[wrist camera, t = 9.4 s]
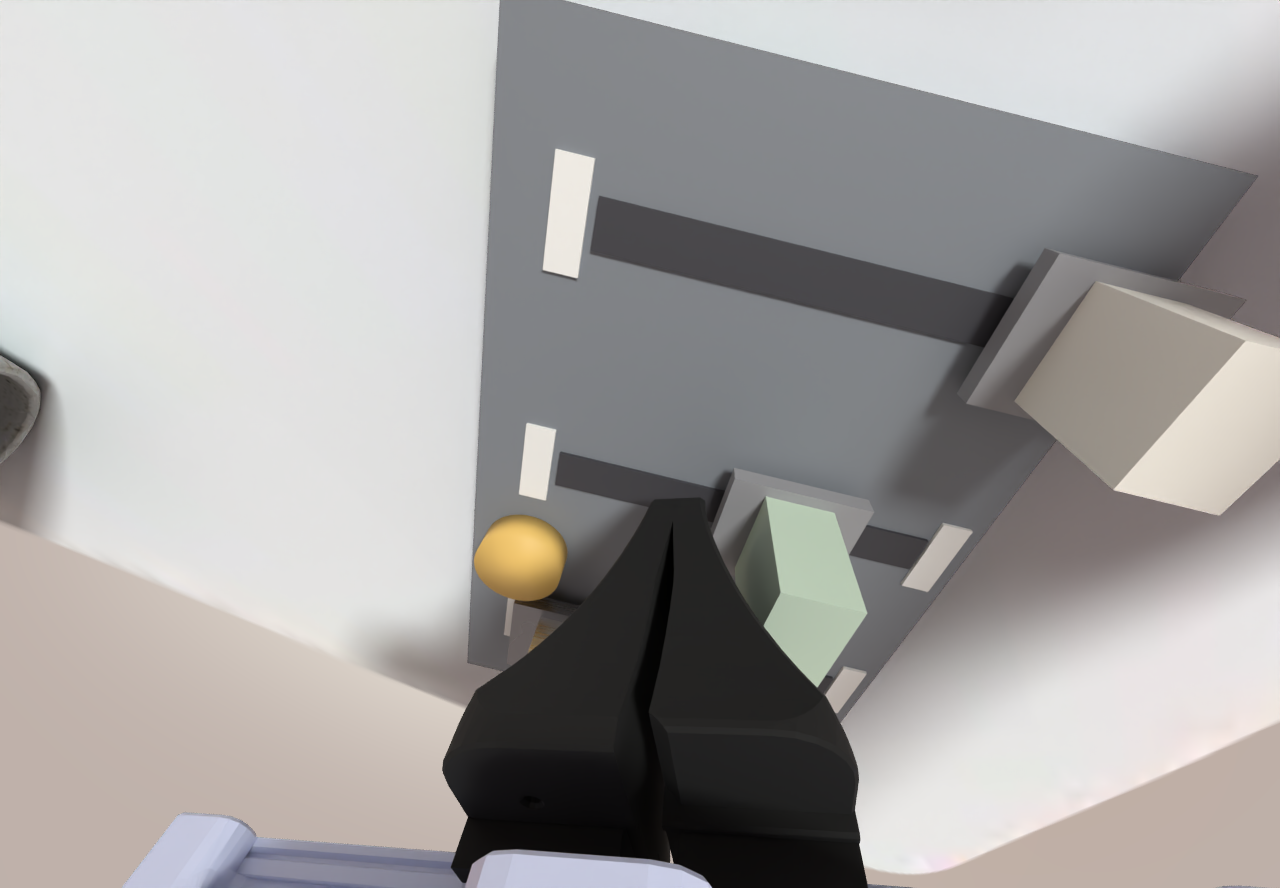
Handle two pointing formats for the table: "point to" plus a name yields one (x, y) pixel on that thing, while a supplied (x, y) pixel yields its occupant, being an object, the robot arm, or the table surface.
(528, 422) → the panel
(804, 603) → the pale mint cube
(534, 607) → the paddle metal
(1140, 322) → the paddle cream
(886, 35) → the table surface
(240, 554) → the table surface
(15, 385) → the ceramic mug
